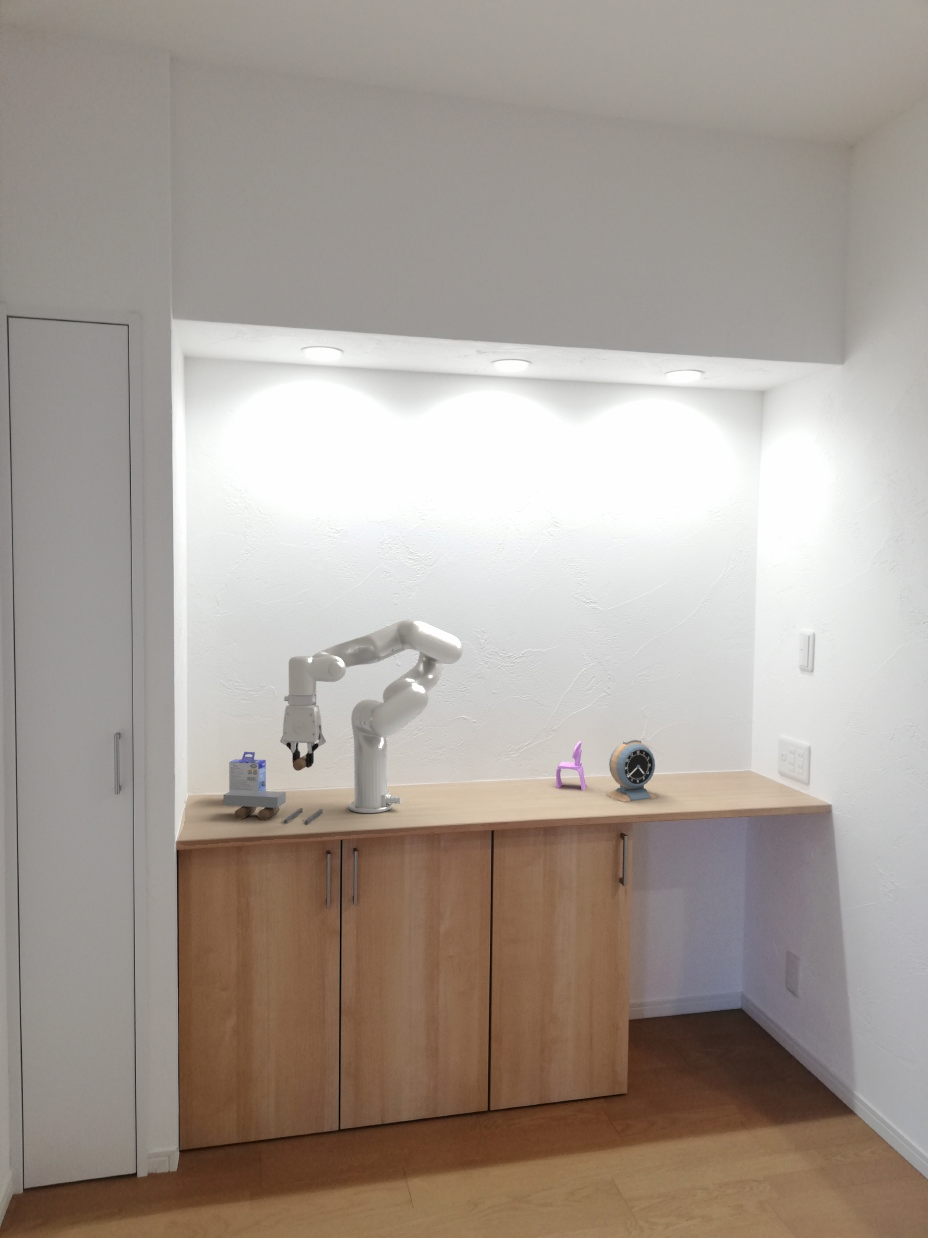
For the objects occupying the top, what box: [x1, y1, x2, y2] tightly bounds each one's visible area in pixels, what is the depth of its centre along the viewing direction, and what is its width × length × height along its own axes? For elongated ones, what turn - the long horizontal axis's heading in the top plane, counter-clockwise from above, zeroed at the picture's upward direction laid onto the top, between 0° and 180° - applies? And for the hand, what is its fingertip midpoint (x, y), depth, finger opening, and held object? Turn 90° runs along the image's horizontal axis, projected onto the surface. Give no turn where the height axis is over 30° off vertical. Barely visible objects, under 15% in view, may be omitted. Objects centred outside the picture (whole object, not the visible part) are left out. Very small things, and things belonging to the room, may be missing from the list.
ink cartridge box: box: [228, 751, 267, 792], centre depth 265 cm, size 10×6×14 cm, turn 78°
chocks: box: [283, 807, 324, 825], centre depth 246 cm, size 7×12×1 cm, turn 170°
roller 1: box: [234, 806, 258, 820], centre depth 249 cm, size 3×8×3 cm
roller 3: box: [292, 754, 307, 771], centre depth 245 cm, size 8×3×3 cm, turn 170°
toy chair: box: [555, 740, 587, 791], centre depth 282 cm, size 8×9×15 cm
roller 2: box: [257, 807, 280, 821], centre depth 248 cm, size 3×8×3 cm
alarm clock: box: [605, 738, 659, 803], centre depth 269 cm, size 14×10×18 cm
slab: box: [222, 790, 287, 808], centre depth 248 cm, size 16×6×3 cm, turn 80°
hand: (303, 765), depth 245 cm, fingers closed on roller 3, 3 cm apart
